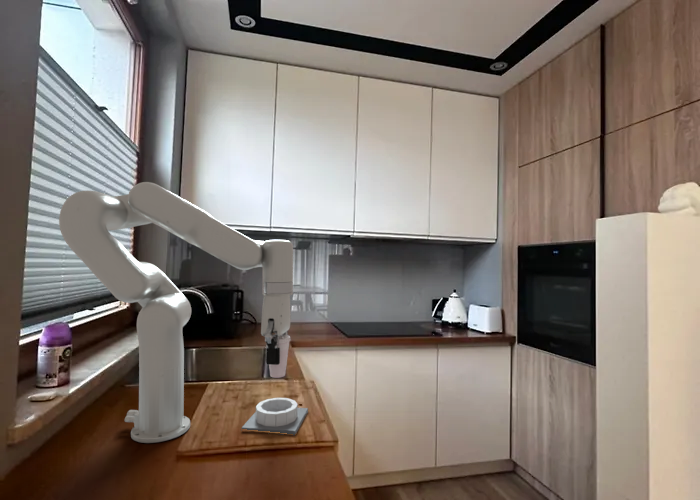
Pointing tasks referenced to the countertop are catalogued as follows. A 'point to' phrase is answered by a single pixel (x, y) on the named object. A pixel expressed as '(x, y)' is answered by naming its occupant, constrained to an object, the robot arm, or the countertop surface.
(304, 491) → the countertop surface
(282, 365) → the smoothie
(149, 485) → the countertop surface
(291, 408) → the holder
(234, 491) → the countertop surface
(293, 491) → the countertop surface
